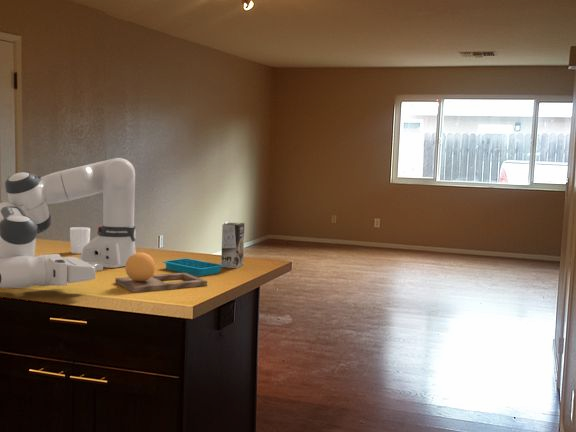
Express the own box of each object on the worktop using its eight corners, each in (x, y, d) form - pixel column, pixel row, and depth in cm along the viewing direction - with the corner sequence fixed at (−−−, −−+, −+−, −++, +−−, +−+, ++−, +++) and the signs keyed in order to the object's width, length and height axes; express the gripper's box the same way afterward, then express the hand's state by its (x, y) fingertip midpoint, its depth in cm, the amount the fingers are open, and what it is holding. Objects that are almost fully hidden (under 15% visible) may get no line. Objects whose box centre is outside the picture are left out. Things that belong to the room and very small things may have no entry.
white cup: (72, 251, 260) (72, 226, 259) (92, 251, 261) (92, 227, 260) (67, 253, 253) (67, 229, 252) (87, 254, 253) (87, 229, 252)
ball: (122, 284, 190) (122, 254, 190) (127, 278, 199) (128, 250, 199) (152, 284, 191) (153, 255, 190) (156, 278, 200) (157, 250, 199)
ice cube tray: (200, 277, 214) (200, 269, 214) (161, 269, 227) (161, 261, 226) (224, 273, 223) (224, 265, 223) (185, 266, 236) (185, 258, 235)
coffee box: (237, 268, 232) (238, 225, 230) (220, 267, 233) (221, 224, 232) (244, 264, 241) (245, 222, 239) (227, 263, 242) (228, 221, 241)
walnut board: (133, 292, 186) (134, 287, 186) (115, 282, 199) (115, 278, 199) (207, 285, 200) (207, 280, 199) (185, 276, 213) (185, 272, 213)
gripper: (44, 274, 189) (90, 271, 197) (62, 287, 172) (112, 282, 180) (44, 253, 188) (90, 250, 196) (62, 264, 172) (112, 261, 179)
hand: (101, 266), depth 188 cm, fingers closed
